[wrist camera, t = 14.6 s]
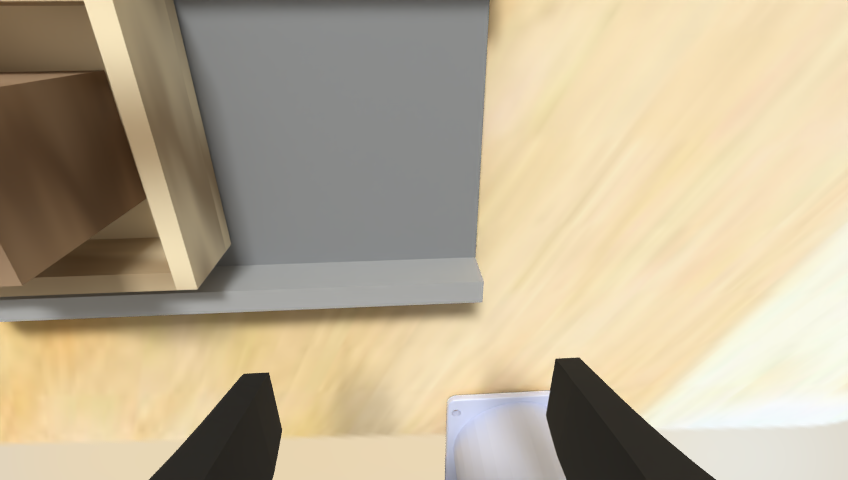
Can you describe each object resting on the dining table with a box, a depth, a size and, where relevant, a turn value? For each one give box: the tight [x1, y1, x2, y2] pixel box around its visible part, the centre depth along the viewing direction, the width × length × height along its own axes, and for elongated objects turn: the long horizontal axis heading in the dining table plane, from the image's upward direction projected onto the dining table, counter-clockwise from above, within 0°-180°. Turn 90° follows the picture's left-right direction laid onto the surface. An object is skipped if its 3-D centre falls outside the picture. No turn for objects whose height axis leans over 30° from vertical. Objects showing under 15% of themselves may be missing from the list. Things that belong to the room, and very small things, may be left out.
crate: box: [0, 0, 231, 297], centre depth 14 cm, size 9×9×3 cm
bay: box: [0, 0, 490, 322], centre depth 15 cm, size 14×22×4 cm, turn 90°
